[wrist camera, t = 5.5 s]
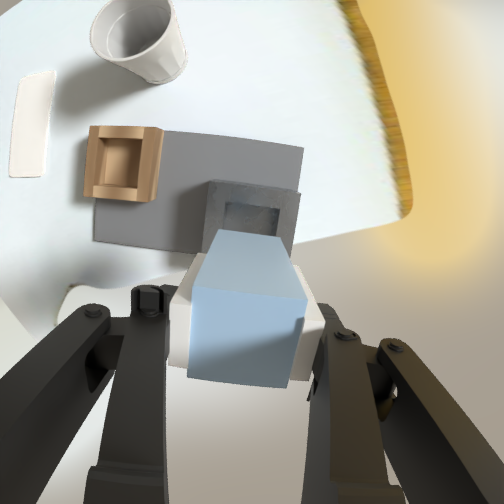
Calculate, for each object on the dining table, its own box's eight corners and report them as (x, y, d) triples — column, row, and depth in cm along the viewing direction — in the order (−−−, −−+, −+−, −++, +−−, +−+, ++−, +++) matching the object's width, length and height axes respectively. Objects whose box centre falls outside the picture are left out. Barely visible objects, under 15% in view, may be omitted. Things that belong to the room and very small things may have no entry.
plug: (212, 286, 21) (186, 377, 12) (218, 228, 20) (192, 285, 11) (270, 294, 21) (286, 388, 12) (280, 237, 20) (308, 299, 11)
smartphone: (56, 69, 30) (43, 176, 34) (59, 70, 31) (46, 176, 35) (19, 77, 30) (8, 177, 34) (22, 78, 30) (11, 177, 34)
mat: (97, 239, 37) (94, 240, 36) (105, 129, 33) (102, 128, 32) (284, 263, 38) (284, 265, 37) (302, 148, 35) (304, 147, 34)
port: (205, 255, 37) (199, 268, 32) (214, 178, 35) (209, 181, 30) (280, 265, 37) (286, 279, 33) (293, 189, 35) (301, 193, 30)
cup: (154, 103, 33) (116, 79, 21) (120, 61, 31) (76, 29, 19) (208, 62, 31) (192, 20, 20) (171, 22, 30) (144, -25, 18)
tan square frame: (96, 193, 34) (83, 196, 31) (102, 128, 32) (90, 125, 29) (156, 198, 35) (147, 202, 32) (164, 130, 33) (156, 127, 29)
